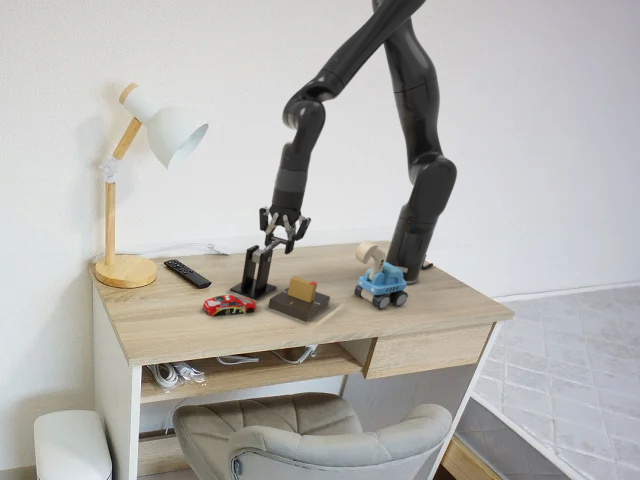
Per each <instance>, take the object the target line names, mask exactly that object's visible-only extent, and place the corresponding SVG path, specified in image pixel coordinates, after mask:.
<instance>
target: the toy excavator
mask: <svg viewBox="0 0 640 480" xmlns="http://www.w3.org/2000/svg"><path fill="white" fill-rule="evenodd" d="M354 256H355V259H356V260H357V261H359V262H360V263H362V264H364V265H367V264H368V262H369V260H370V259H371V258H372V259H373V263H372V266H371V267H370V268H368V269H366V271H365V274H364V275H361V276H359V277H358V279H357V284H356V285H355V289H354V293H353V294H354V295H355V296H356V297H358V298H360V299H364V300H366V301H368V302H369V303H371V305H372V307H374V308H377V309H378V310H385V309H386V308H387V307H388V306H389V305H390V304H392V305H394V306H395V307H402V306H403V305H404V304H405V303H406V302H407V299H408V297H409V293H408V292H406V291H404V290H405V289H406V286H407V284H406V282H405V280H404V279H403V273H402V271H401V270H400V269H398V268H396V267H395V266H393V265H391V264H389V263H387V262H385V260H386V257H387V254H386V253H385V251H383V250H382V249H380V248H379V245H378V244H376V243H375V242H372V241H370V240H364V241H362V242H361V243H360V244H359V245H358V246H357V248H356V250H355V253H354Z"/></svg>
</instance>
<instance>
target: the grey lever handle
mask: <svg viewBox="0 0 640 480" xmlns="http://www.w3.org/2000/svg"><path fill="white" fill-rule="evenodd" d="M270 240H271V241H273V243H271V244H270V245H269V246H267V247H266V246H265V247H264V248H263V249H260V248H259V249H257V250H256V251H255V252H253V253H252V262H255V263H256V264H258V265H259V261H260V255H261V253H263V252H265V251H267V250H269V249H271V250H274V249H275V248H276V247H278V246H279V245H280V244H281V245H284V246H286V242H287V241H288V239H286V238H282V237H278V236H275V235H274V236H271V238H270Z"/></svg>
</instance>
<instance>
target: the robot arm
mask: <svg viewBox="0 0 640 480" xmlns="http://www.w3.org/2000/svg"><path fill="white" fill-rule="evenodd" d="M426 1H427V0H371V8H372V13H373V14H372V15H371V16H370V17H369V18H368V19H367V20H366V22H365V23H364V24H363V25H362V26H360V28H359V29H358V30H356V31H355V32H354V33H353V34H352V35H351V36H350V37H349V38H348V39H346V40H345V42H343V43H342V44H341V45H340V46H339V47H338V48H337V49H336V50H335V51H334V53H332V55H331V56H330V57H329V58H328V59H327V61H326V62H325V63H324V64H323V66H322V67H321V68H320V70H319V71H318V72H317V74H316V75H315V76H314V77H313V78H312V79H310V80H309V81H308V82H306V84H304V85H303V86H302V87H300V88H299V90H298V91H296V92H295V93H294V94H292V96H290V98H289V99H288V100H287V102H286V104H285V106H284V107H283V110H282V113H281V120H282V123H283V125H284V126H285V127H286V128H287V129H290V130H293V131H296V132H295V135H294V137H293V140H290V141H286V142H285V143H284V144H283V146H282V148H281V153H280V158H279V164H278V169H277V173H276V175H275V180H274V186H273V191H272V192H273V193H272V196H271V197H272V198H271V204H270V206H269V207H268V206H263V207H260V208H259V209H258V214H259V230H260V231H261V232H264V234H265V238H264V243H263V244H264V246H265V248H266V247H267V246H269V245H270V244H271V243H273V242H274V241H271V240H270V238H271V236H275V233H274V232H275V230H276V229H277V227H278V226H279V227H282V228H284V231H285V233H286V238H287V240H288V241H287V242H286V245H285V248H284V251H283V253H284V255H289V254H291V253H293V251H294V248H295V243H296V242H298V241H300V240H302V239H303V238H304V237H305V234H306V233H307V230H308V228H309V226H310V224H311V222H312V218H311V217H305V216H304V215H302V207H303V204H304V203H303V202H304V197H305V193H306V188H307V183H308V177H309V169H310V163H311V159H312V153H313V150H314V149H315V146H317V143H318V141H319V138H320V137H321V134H322V132H323V129H324V127H325V124H326V120H327V110H326V107H325V105H324V104H323V103H325V102H327V101H332V100H335V99H337V98H338V97H339V96H340V95H341V94H342V92H343V91H344V90H345V89H346V88H347V86H348V85H349V84H350V82H351V81H352V80H353V79H354V78H355V76H356V75H358V73H359V71H360V70H361V69H362V68H363V67H364V65H365V64H366V63H367V62H368V61H369V60H370V59H371V58H372V56H373V55H374V54H376V52H377V51H378V50H379V48H380V47H381V46H382V45H383V47H384V51H385V52H384V53H385V58H386V61H387V67H388V71H389V75H390V81H391V86H392V87H391V89H392V92H393V98H394V102H395V107H396V111H397V116H398V121H399V122H400V123H399V124H400V127H401V131H402V134H403V137H404V141H405V149H406V158H407V159H406V160H407V161H406V162H407V174H408V180H409V182H410V183H411V185H412V186H413V187H412V190H411V192H410V196H409V199H408V200H407V203H404V204H403V205H402V206H401V208H400V211H399V214H398V217H397V221H396V224H395V227H394V230H393V234H392V238H391V240H390V244H389V247H388V251H387V254H386V258H385V262H387V263H389V264H391V265H393V266H395V267H396V268H398V269H400V270H401V271H402V273H403V279H404V280H405V282H406V285H412V284H415V283H417V281H418V280H419V275H420V273H421V270H424V271H425V270H427V269H430V268H431V267H433V266H434V263H433V262H430V263H428V264H427V265H425V266H424V264H425V261H426V258H427V255H428V254H427V253H428V249H429V248H430V247H429V246H430V244H431V241H432V239H433V235H434V233H435V229H436V226H437V224H438V221H439V218H440V216H441V215H442V214H443V213H444V212H445V209H446V207H447V205H448V203H449V200H450V198H451V195H452V192H453V191H454V190H453V189H454V188H455V185H456V181H457V177H458V169H457V166H456V164H455V163H454V162H453V160H451V159H449V158H448V157H446V156H445V155H444V152H443V149H442V146H441V141H440V137H439V132H438V121H439V113H440V106H441V92H440V85H439V81H438V80H439V78H438V74H437V69H436V67H435V64H434V62H433V60H432V59H431V57H430V55H429V54H428V53H427V51H426V49H425V48H424V46H423V45H422V44H421V42H420V41H419V39H418V38H417V37H418V36H416V33H415V29H414V24H413V19H412V16H413V15H414V14H415V13H416V12H418V10H419V9H421V7H423V5H424V4H425V3H426ZM269 215H270V217H271V220H270V221H269ZM297 221H298V225H299V227H298V229H297Z"/></svg>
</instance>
